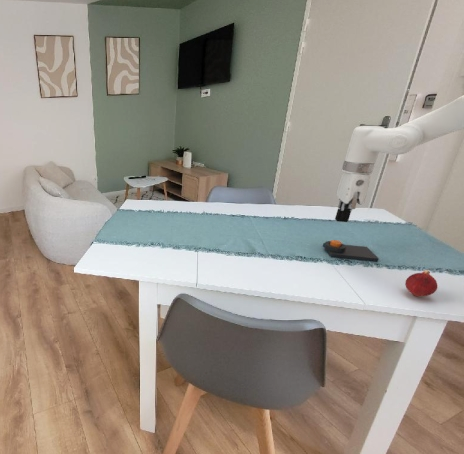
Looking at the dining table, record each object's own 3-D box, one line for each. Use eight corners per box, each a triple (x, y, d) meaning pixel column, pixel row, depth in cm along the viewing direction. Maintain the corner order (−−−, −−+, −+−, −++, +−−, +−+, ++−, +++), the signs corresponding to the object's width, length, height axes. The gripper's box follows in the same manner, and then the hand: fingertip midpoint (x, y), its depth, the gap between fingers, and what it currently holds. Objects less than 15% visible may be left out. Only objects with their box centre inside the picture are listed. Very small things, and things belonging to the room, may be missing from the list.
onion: (431, 305, 76) (444, 279, 73) (401, 297, 79) (412, 272, 76) (430, 295, 80) (442, 270, 76) (401, 287, 83) (411, 263, 80)
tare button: (338, 244, 103) (339, 240, 103) (341, 248, 101) (342, 244, 100) (328, 243, 104) (329, 239, 104) (331, 247, 102) (332, 243, 101)
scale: (365, 250, 104) (368, 242, 102) (377, 262, 96) (380, 254, 95) (319, 245, 108) (321, 238, 107) (327, 257, 101) (329, 249, 99)
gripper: (384, 173, 84) (364, 230, 91) (362, 162, 97) (346, 214, 104) (352, 172, 86) (335, 228, 94) (335, 162, 99) (321, 212, 107)
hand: (341, 220), depth 99 cm, fingers closed
